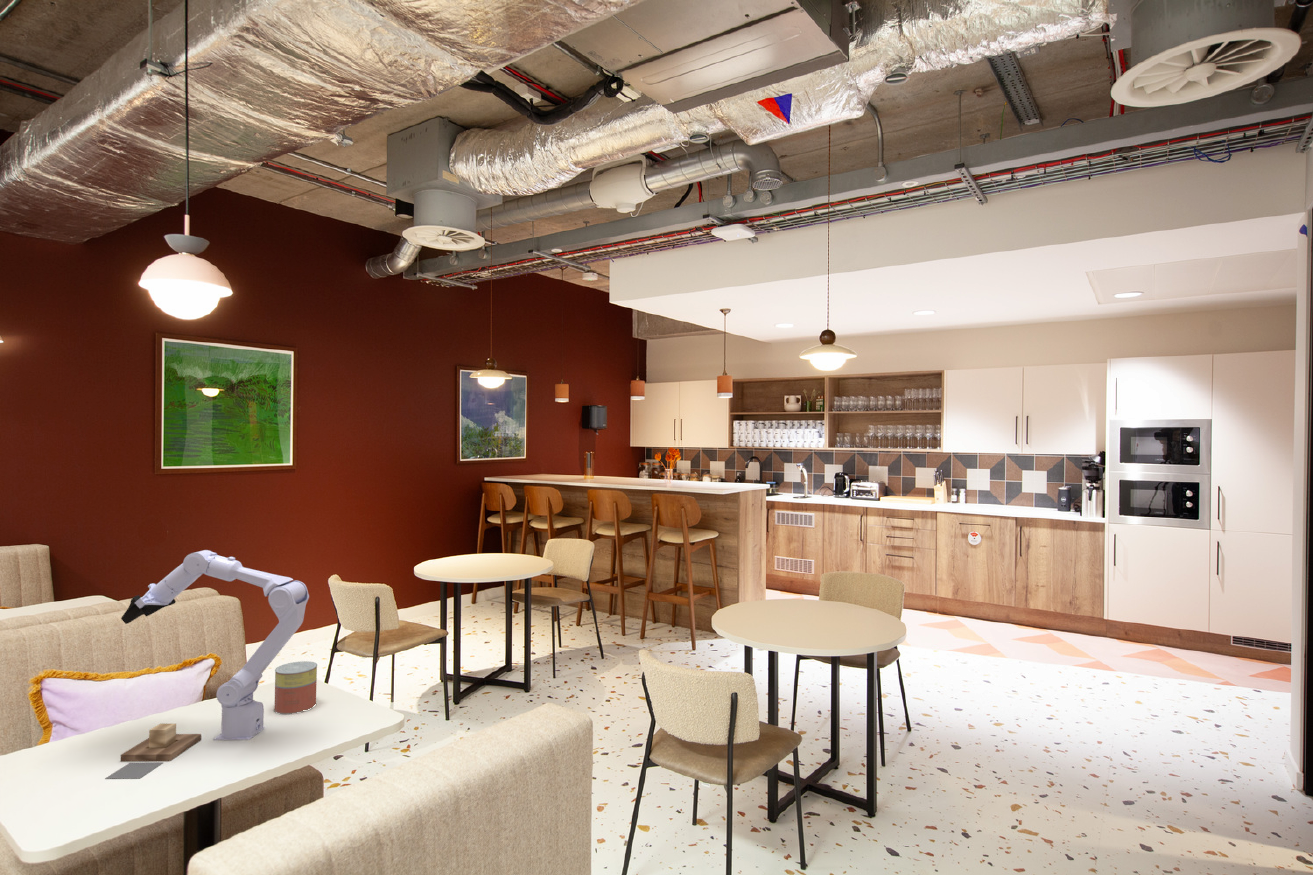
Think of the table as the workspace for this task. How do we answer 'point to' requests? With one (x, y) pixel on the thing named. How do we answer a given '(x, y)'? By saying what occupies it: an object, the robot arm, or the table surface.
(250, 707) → the robot arm
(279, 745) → the table surface
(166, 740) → the birch peg
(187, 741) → the pocket block
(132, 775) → the rubber mat
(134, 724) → the table surface
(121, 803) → the table surface
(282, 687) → the canned food
